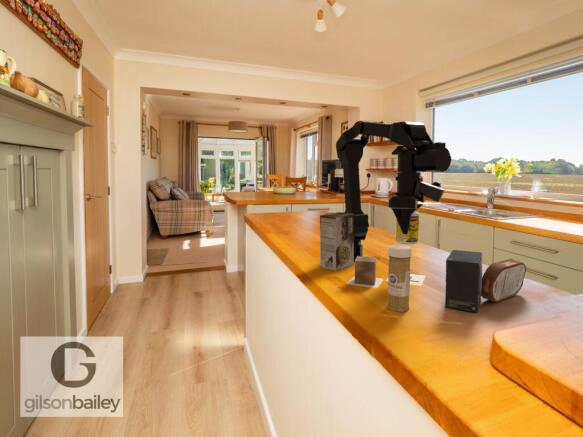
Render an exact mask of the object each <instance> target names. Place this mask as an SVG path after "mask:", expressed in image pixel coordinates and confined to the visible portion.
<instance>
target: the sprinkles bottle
mask: <svg viewBox="0 0 583 437" xmlns="http://www.w3.org/2000/svg"><path fill="white" fill-rule="evenodd" d="M387 248H388V249H387V252H388V254H387V255H388V272H387V273H388V277H387V278H388V281H387V304H386V307H387V309H388V310H390V311H393V312H396V313H397V312H399V313H403V312H407V311H409V309H410V290H411V289H410V286H411V284H410V274H411V257H412V247H411V246H410V245H406V244H399V243H397V244H391V245H389V246H388V247H387Z"/></svg>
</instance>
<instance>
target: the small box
mask: <svg viewBox="0 0 583 437" xmlns="http://www.w3.org/2000/svg"><path fill="white" fill-rule="evenodd" d="M482 277H483V252H482V251H481V252H480V251H472V250H471V251H470V250H468V251H467V250H462V249H461V250H459V249H452V250H451V252H450V253H449V255H448V256H447V258H446V259H445V297H444V298H445V299H444V301H445V302H444V308H449V309H453V310H459V311H460V310H461V311H467V312H473V313H478V311H479V308H480V307H479V306H480V303H481V298H482V296H481V288H482Z"/></svg>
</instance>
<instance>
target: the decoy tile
mask: <svg viewBox="0 0 583 437" xmlns="http://www.w3.org/2000/svg"><path fill="white" fill-rule="evenodd" d="M383 281H385V278H380V277H376V281H375V285H366V284H355V275H354V276H353V277H351V278H350V280H348V281H347V283H345V284H346V285H351V286H358V287H363V288H364V287H365V288H372V289H378V288H379V286H380V285H381V284H382V283H383Z"/></svg>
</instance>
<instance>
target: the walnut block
mask: <svg viewBox="0 0 583 437" xmlns="http://www.w3.org/2000/svg"><path fill="white" fill-rule="evenodd" d="M354 276H355V284H366V285H375V281H376V278H377V257H375V256H357V258H356V260H355V261H354Z"/></svg>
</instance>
